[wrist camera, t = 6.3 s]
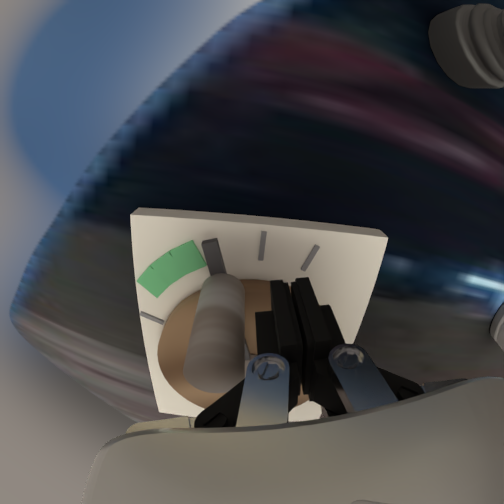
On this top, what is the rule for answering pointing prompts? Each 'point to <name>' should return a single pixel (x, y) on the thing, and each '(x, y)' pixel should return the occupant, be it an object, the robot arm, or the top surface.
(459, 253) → the top surface
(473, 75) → the candle holder
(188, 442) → the robot arm
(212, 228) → the dial plate
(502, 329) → the travel mug
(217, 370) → the dial
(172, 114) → the top surface
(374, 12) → the top surface
